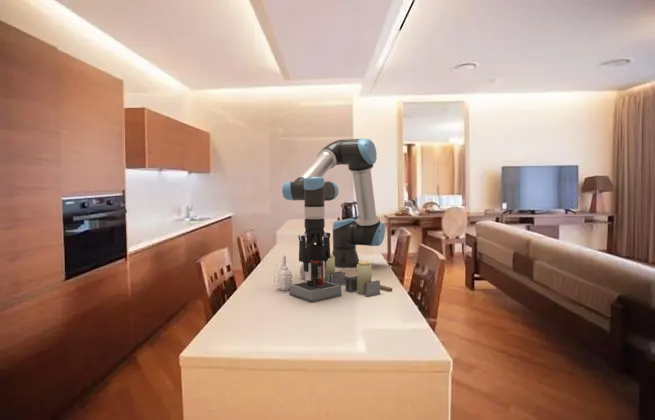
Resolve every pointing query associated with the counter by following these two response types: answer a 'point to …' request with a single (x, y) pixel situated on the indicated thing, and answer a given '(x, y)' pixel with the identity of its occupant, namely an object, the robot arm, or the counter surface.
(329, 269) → the cartridge
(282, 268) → the hand grenade
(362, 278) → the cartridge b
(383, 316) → the counter surface
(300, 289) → the tray
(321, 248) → the deodorant
